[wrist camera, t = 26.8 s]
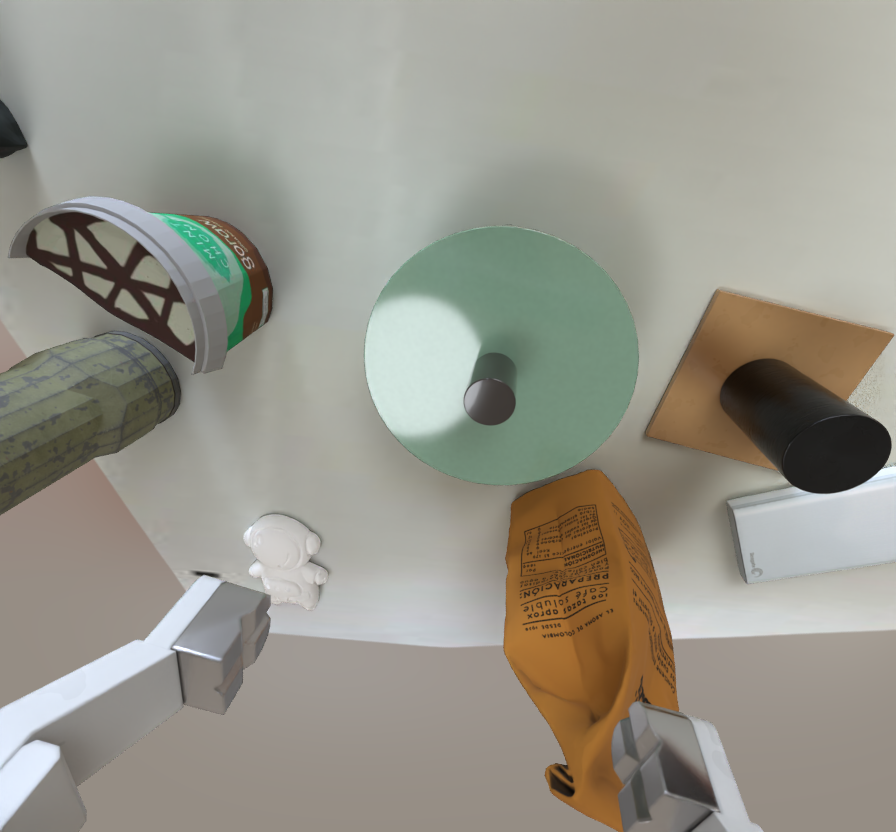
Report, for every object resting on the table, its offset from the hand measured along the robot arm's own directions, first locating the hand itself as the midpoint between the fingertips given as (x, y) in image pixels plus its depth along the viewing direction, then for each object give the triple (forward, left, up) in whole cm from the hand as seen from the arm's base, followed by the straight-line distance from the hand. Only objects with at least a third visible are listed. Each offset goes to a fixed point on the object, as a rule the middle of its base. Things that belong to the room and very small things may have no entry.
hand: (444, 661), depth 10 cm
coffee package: (+15, +11, -25) cm, 31 cm away
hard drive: (+8, +28, -25) cm, 39 cm away
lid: (0, 0, -18) cm, 18 cm away
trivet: (-1, +18, -25) cm, 31 cm away
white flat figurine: (+29, -15, -25) cm, 41 cm away
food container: (-1, -21, -25) cm, 33 cm away
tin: (-1, +18, -24) cm, 30 cm away
